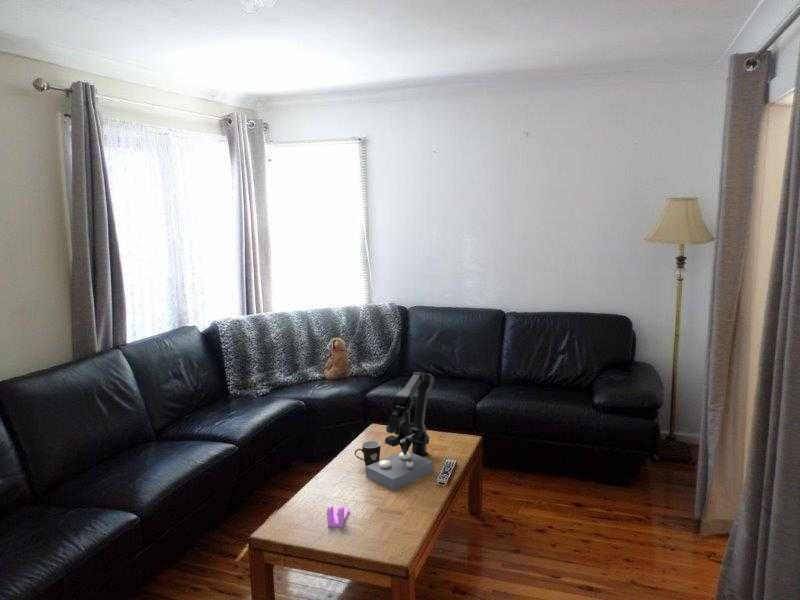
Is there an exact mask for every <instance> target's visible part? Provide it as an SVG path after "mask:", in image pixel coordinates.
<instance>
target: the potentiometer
mask: <svg viewBox="0 0 800 600" xmlns="http://www.w3.org/2000/svg"><path fill="white" fill-rule="evenodd" d="M406 469H407V470H412V469H413V461H411V460H410V458H409V461H406Z"/></svg>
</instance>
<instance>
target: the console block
mask: <svg viewBox="0 0 800 600" xmlns="http://www.w3.org/2000/svg"><path fill="white" fill-rule="evenodd" d="M401 452H402V451H401ZM401 452H398V453H394V454H392V455H390V456H388V457H385V458H383V459H379V461H378V462H376V463H373V464H371V465H368V466H365V478H367V479H369V480H371V481H373V482H375V483H378V484H379V485H381V486H384V487H385V488H388V489H389V490H391V491H393V492H394V491H396V490H398V489H400V488H402V487H404V486H407V485H409V484H411V483H414V482H415V481H417V480H420V479H421V478H425V476H428V475H430V474H432V473H434V461H433V460H431V459H428V458H426V457H425V456H423V457H421V456H419V455H416V454H414V453H412V451H409V450H408V452H409V453H410V454H411V458H410V460H411V461H413V469H412V470H407V469H406V461H409V459H406V460H403V459H400V458H399V454H400V453H401ZM382 460H389V461H391V466H390V467H388V468H385V469H384V468H381V467H379V462H380V461H382Z"/></svg>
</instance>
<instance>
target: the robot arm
mask: <svg viewBox="0 0 800 600" xmlns="http://www.w3.org/2000/svg"><path fill="white" fill-rule="evenodd" d="M434 382H435V377H434V376H433V374H431V373H425V372H419V371H414V372H413V373H412V375H411V378H409V380H408V382H407V383H406V385H405V387H404V388H403V389H401V390H400V391H399V390H398V392H397V393H396V394H395V395H394V396H393V397H394V398H393V401H392V405H391V408H390V410H391V412H392V413H391V416H390V417H389V418H388V419H387V424H388V425H386V428H385V430H386V433H387V434H390V435H389V436H386V437H385V438H384V444H385V445H389V446H391V447H396V446H399V447H400V450H401V452H403V454H407V452H408V451H409V449H410V448H411V453H414V454H416V455H419V456H421V457H425V456H428V455H430V453H429V452H427V445H429V443H430V435H428V433H427V426H426V425H425V419H426V413H427V412H426V411H427V403H428V396H429V392H430V391H431V390H432V389H433V386H434ZM416 391H417V399H416V405H415V406H416V407H415V412H414V414H415V415H414V421H412V422H411V409H412V405H413V401H414V399H413V396H414V394H415V393H416ZM393 434H394V435H393ZM411 445H412V446H411Z"/></svg>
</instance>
